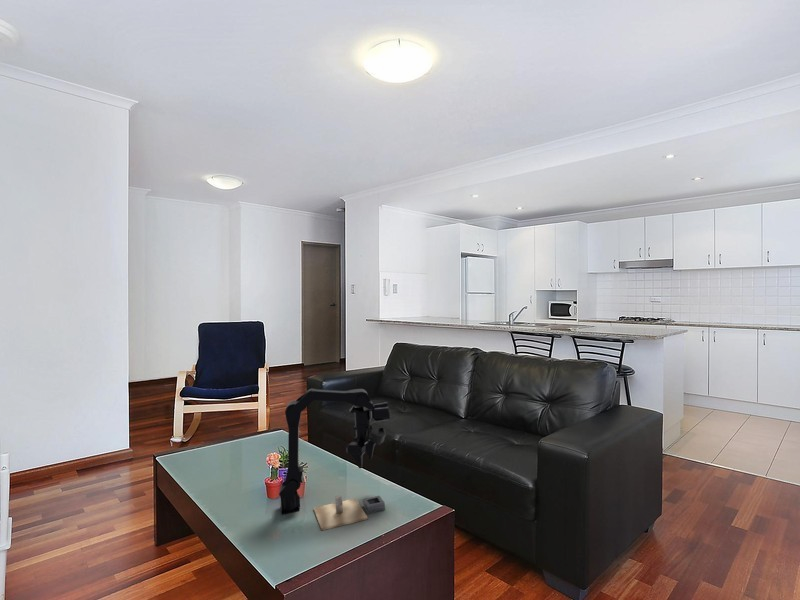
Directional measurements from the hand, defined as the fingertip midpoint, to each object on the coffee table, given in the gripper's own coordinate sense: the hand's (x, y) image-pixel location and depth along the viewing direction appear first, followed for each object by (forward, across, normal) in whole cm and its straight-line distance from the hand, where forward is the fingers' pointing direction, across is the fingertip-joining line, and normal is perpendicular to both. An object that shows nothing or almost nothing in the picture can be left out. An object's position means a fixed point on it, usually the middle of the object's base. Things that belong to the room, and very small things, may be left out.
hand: (365, 463), depth 171 cm
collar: (+14, -6, -5) cm, 16 cm away
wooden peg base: (+13, -14, +5) cm, 20 cm away
